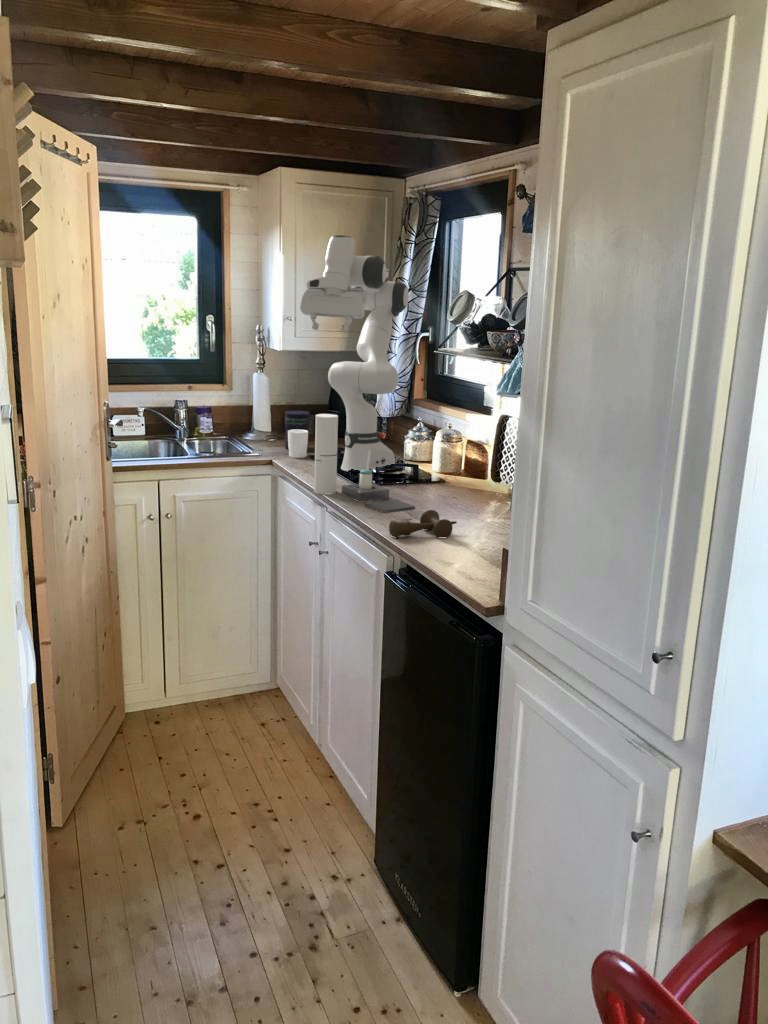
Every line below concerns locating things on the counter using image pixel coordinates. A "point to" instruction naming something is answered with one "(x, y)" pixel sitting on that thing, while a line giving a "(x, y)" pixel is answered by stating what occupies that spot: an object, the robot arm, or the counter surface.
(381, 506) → the mat
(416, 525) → the kendama
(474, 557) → the counter surface
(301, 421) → the storage jar
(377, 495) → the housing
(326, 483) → the cylindrical container
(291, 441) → the white cup
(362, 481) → the white bottle teal cap
